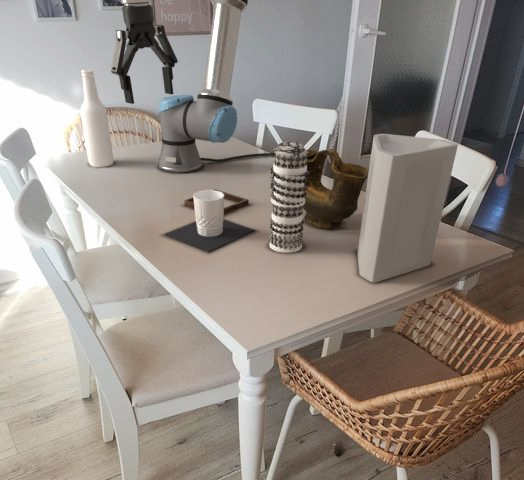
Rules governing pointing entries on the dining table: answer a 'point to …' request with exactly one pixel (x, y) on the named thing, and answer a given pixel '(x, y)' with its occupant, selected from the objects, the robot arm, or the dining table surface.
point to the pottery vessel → (331, 201)
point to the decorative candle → (288, 196)
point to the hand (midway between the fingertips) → (150, 98)
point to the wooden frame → (240, 200)
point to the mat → (209, 244)
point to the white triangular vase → (403, 204)
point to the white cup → (209, 212)
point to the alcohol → (95, 124)
